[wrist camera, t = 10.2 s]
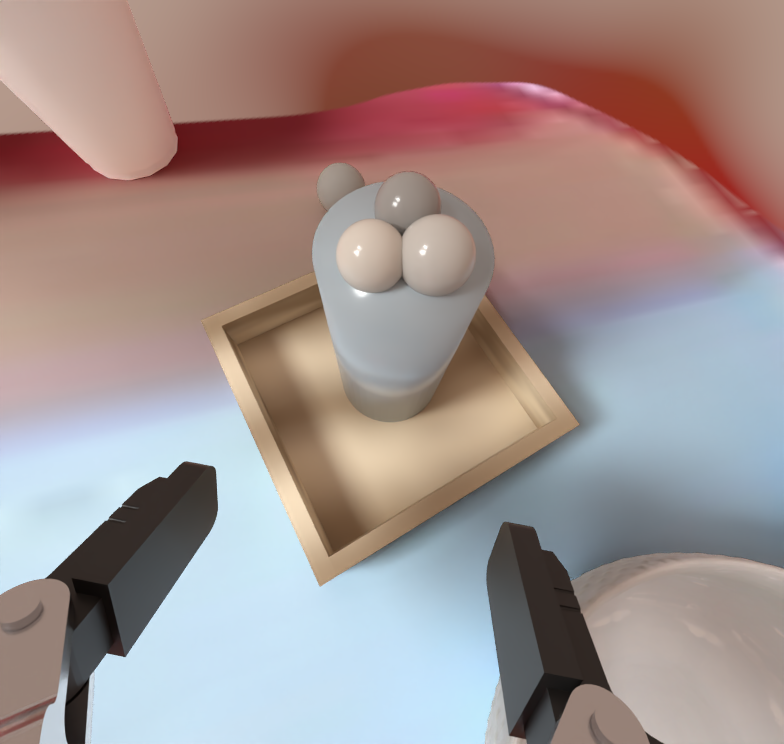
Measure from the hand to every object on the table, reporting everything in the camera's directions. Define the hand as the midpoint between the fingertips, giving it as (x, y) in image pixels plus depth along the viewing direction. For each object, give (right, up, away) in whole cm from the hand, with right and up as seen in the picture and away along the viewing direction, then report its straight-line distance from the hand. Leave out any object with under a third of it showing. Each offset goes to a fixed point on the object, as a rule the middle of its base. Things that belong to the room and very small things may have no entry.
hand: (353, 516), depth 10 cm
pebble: (-2, +15, +16) cm, 22 cm away
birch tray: (+1, +3, +12) cm, 12 cm away
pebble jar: (+1, +4, +11) cm, 12 cm away
